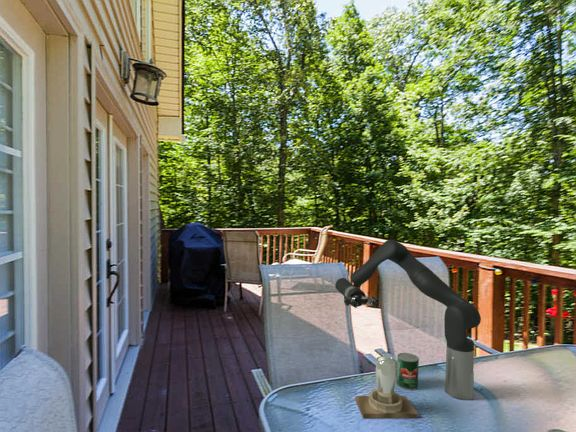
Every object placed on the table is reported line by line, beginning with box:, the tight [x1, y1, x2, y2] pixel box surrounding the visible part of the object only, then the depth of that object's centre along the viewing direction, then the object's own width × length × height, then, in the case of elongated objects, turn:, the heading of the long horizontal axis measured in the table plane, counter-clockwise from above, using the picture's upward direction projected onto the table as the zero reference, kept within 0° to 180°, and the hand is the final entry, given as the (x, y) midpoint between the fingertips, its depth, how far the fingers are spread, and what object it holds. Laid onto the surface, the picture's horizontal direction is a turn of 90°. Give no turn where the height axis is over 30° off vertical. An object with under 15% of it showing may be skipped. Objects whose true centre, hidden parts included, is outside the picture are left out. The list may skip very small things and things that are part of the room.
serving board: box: [354, 388, 419, 419], centre depth 122 cm, size 18×11×4 cm, turn 93°
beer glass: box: [374, 355, 397, 404], centre depth 122 cm, size 7×7×15 cm
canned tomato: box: [396, 352, 420, 391], centre depth 139 cm, size 8×8×11 cm
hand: (366, 305), depth 147 cm, fingers open, 8 cm apart
